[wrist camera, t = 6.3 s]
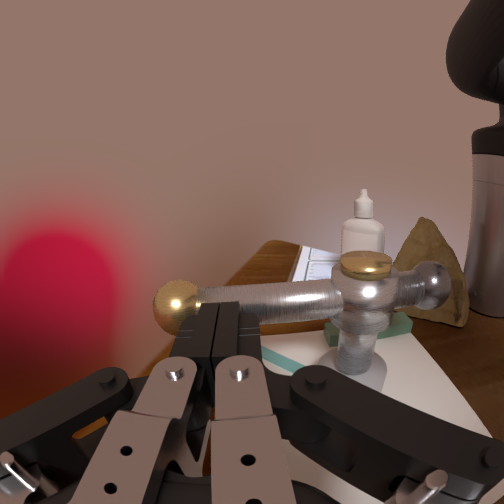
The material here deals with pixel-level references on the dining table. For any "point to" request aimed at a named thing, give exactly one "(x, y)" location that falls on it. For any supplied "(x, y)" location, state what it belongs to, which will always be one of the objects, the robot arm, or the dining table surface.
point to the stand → (380, 379)
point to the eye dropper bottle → (362, 228)
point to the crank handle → (323, 301)
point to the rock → (436, 249)
